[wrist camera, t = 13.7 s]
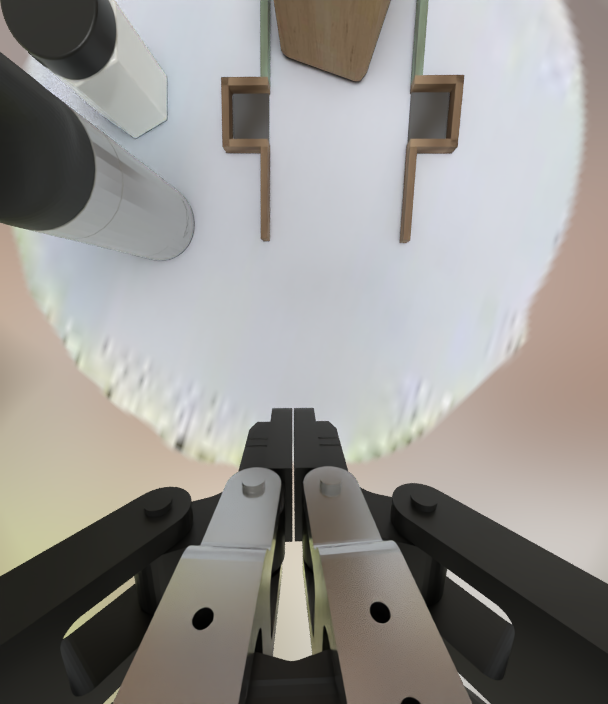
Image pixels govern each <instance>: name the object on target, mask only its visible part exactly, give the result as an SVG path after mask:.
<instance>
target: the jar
mask: <svg viewBox="0 0 608 704" xmlns="http://www.w3.org/2000/svg"><path fill="white" fill-rule="evenodd" d="M0 2H1V8H2V12H3V16H4V19H5V21H6V24H7V26H8V28H9V30H10V32H11V33H12V35H13V36H14V38H15V39H16V40H17V41H18V43H19V44H20V45H21V46H22V47H23V48H25V49H26V50H27V51H28V53H29V54H30V55H32V57H34V58H35V59H36V60H37V61H38V62H39V63H41V64H42V65H43V66H44V67H46V68H47V69H48V70H49V71H50V72H52V73H53V74H54V75H55V76H56V77H57V78H59V79H60V80H61V81H62V82H63V83H64V84H66V85H67V86H68V87H69V88H70V89H72V90H73V91H74V92H75V93H76V94H77V95H79V96H80V97H81V98H82V99H83V100H85V101H86V102H87V103H88V104H89V105H90V106H92V107H93V108H94V109H95V110H96V111H97V112H99V113H100V114H101V115H102V116H103V117H105V118H106V119H108V120H109V121H111V122H112V123H113V124H115V125H116V126H118V127H119V128H121V129H122V130H123V131H125V132H126V133H128V134H129V135H130V136H132V137H133V138H137V137H139V136H141V135H142V134H144V133H145V132H147V131H149V130H150V129H152V128H154V127H155V126H157V125H159V124H161V123H162V122H164V121H166V120H167V76H166V75H165V73H164V72H163V70H162V69H161V67H160V66H159V64H158V63H157V61H156V60H155V58H154V57H153V56H152V54H151V53H150V51H149V50H148V48H147V47H146V45H145V44H144V42H143V41H142V39H141V38H140V37H139V35H138V34H137V32H136V31H135V29H134V28H133V26H132V25H131V23H130V22H129V20H128V19H127V17H126V16H125V15H124V13H123V12H122V10H121V9H120V7H119V6H118V4H117V3H116V2H115V1H114V0H0Z"/></svg>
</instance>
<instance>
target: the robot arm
mask: <svg viewBox="0 0 608 704" xmlns="http://www.w3.org/2000/svg"><path fill="white" fill-rule="evenodd" d="M0 223H4V224H7V225H11V226H15V227H19V228H24V229H28V230H32V231H36V232H40V233H44V234H48V235H52V236H57V237H61V238H66V239H70V240H74V241H78V242H82V243H86V244H90V245H95V246H99V247H103V248H107V249H111V250H115V251H119V252H123V253H128V254H132V255H135V256H140V257H144V258H148V259H152V260H168V259H172V258H174V257H176V256H178V255H179V254H181V253H182V252H183V251H184V250H185V249H186V247H187V246H188V245H189V243H190V241H191V239H192V235H193V231H194V218H193V213H192V210H191V207H190V205H189V204H188V202H187V200H186V199H185V197H184V196H183V195H182V194H181V193H180V192H179V191H177V190H176V189H175V188H174V187H172V186H171V185H170V184H168V183H167V182H166V181H165V180H163V179H162V178H161V177H160V176H158V175H157V174H156V173H155V172H153V171H152V170H151V169H149V168H148V167H147V166H146V165H144V164H143V163H142V162H140V161H139V160H138V159H137V158H135V157H134V156H133V155H131V154H130V153H129V152H128V151H126V150H125V149H124V148H122V147H121V146H120V145H118V144H117V143H116V142H115V141H113V140H112V139H111V138H109V137H108V136H107V135H106V134H104V133H103V132H102V131H100V130H99V129H98V128H97V127H95V126H94V125H92V124H91V123H90V122H89V121H87V120H86V119H85V118H83V117H82V116H81V115H79V114H78V113H77V112H76V111H74V110H73V109H72V108H70V107H69V106H68V105H67V104H65V103H64V102H62V101H61V100H60V99H59V98H57V97H56V96H55V95H53V94H52V93H51V92H49V91H48V90H47V89H46V88H44V87H43V86H42V85H41V84H40V83H39V82H37V81H36V80H35V79H34V78H33V77H31V76H30V75H29V74H27V73H26V72H25V71H24V70H22V69H21V68H20V67H19V66H17V65H16V64H15V63H13V62H12V61H11V60H10V59H9V58H7V57H6V56H5V55H3V54H2V53H1V52H0ZM294 503H295V504H294V505H295V507H294V511H295V541H302V544H303V545H302V546H303V578H304V587H305V595H306V604H307V612H308V621H309V630H310V638H311V648H312V655H311V656H308V657H306V658H303V659H300V660H297V661H286V660H283V659H279V658H276V657H273V650H274V641H275V632H276V623H277V614H278V605H279V595H280V587H281V578H282V562H283V560H284V555H285V542H292V408H272V415H271V422H257V423H256V424H255V425H254V426H253V427H252V428H251V429H250V430H249V434H248V437H247V441H246V445H245V449H244V452H243V456H242V460H241V464H240V468H239V471H238V472H237V473H236V474H234V475H233V476H232V477H231V478H230V479H229V480H228V482H227V483H226V485H225V488H224V491H223V492H221V493H219V494H217V495H215V496H212V497H209V498H205V499H201V500H197V501H193V502H192V501H191V496H190V494H189V493H188V492H187V491H186V490H184V489H181V488H178V487H164V488H159V489H156V490H152V491H150V492H148V493H146V494H144V495H142V496H140V497H139V498H137V499H135V500H133V501H131V502H130V503H128V504H126V505H124V506H123V507H121V508H119V509H118V510H116V511H114V512H112V513H110V514H109V515H107V516H105V517H103V518H102V519H100V520H98V521H96V522H95V523H93V524H91V525H89V526H88V527H86V528H84V529H82V530H81V531H79V532H77V533H75V534H74V535H72V536H70V537H69V538H67V539H65V540H63V541H61V542H60V543H58V544H56V545H54V546H53V547H51V548H49V549H47V550H46V551H44V552H42V553H40V554H39V555H37V556H35V557H33V558H32V559H30V560H28V561H26V562H25V563H23V564H21V565H20V566H18V567H16V568H14V569H12V570H11V571H9V572H7V573H6V574H4V575H2V576H0V704H103V703H104V702H105V701H106V700H107V699H108V698H109V697H110V696H111V695H112V694H113V693H114V692H115V691H116V690H117V689H118V688H119V687H120V686H121V687H120V689H119V691H118V693H117V695H116V698H115V699H114V702H112V703H111V704H486V703H485V702H484V701H483V700H481V699H480V698H479V697H478V696H476V694H474V693H473V692H472V691H471V690H469V689H468V688H466V687H465V686H464V685H463V682H462V680H461V678H460V676H459V674H460V675H461V676H462V677H464V678H465V679H466V680H467V681H468V682H469V683H470V684H471V685H472V686H473V687H474V688H475V689H476V690H477V691H478V692H479V693H480V694H481V695H482V696H483V697H484V698H486V699H487V700H488V701H489V702H490V703H491V704H608V584H607V583H605V582H603V581H602V580H600V579H598V578H596V577H594V576H592V575H590V574H589V573H587V572H585V571H583V570H582V569H580V568H578V567H576V566H574V565H573V564H571V563H569V562H567V561H565V560H563V559H562V558H560V557H558V556H556V555H554V554H553V553H551V552H549V551H547V550H545V549H543V548H542V547H540V546H538V545H536V544H535V543H533V542H531V541H529V540H527V539H525V538H523V537H522V536H520V535H518V534H516V533H515V532H513V531H511V530H509V529H507V528H506V527H504V526H502V525H500V524H498V523H496V522H495V521H493V520H491V519H489V518H487V517H486V516H484V515H482V514H480V513H478V512H477V511H475V510H473V509H471V508H469V507H468V506H466V505H464V504H462V503H460V502H459V501H457V500H455V499H453V498H451V497H449V496H448V495H446V494H444V493H442V492H440V491H438V490H436V489H435V488H432V487H430V486H427V485H423V484H417V483H410V484H404V485H401V486H399V487H397V488H396V489H395V491H394V492H393V496H392V497H388V496H384V495H379V494H375V493H371V492H369V491H366V490H364V489H362V488H361V487H359V484H358V482H357V480H356V478H355V477H354V476H353V475H352V474H351V473H350V472H348V469H347V465H346V462H345V458H344V454H343V451H342V447H341V444H340V440H339V436H338V433H337V429H336V428H335V427H334V426H333V425H332V424H331V423H330V422H329V421H316V420H315V413H314V408H294ZM447 569H449V570H450V571H451V572H453V573H454V574H455V575H457V576H458V577H459V578H461V579H462V580H464V581H465V582H466V583H468V584H469V585H470V586H472V587H473V588H475V589H476V590H477V591H479V592H480V593H481V594H483V595H484V596H485V597H487V598H488V599H490V600H491V601H492V602H494V603H495V604H497V605H498V606H499V607H500V608H501V609H502V610H503V611H504V612H505V613H506V615H507V616H508V617H509V619H510V621H511V622H512V624H510V623H508V622H507V621H505V620H504V619H503V618H501V617H500V616H499V615H497V614H496V613H495V612H493V611H492V610H491V609H489V608H488V607H486V606H485V605H484V604H483V603H481V602H480V601H479V600H477V599H476V598H475V597H473V596H472V595H470V594H469V593H468V592H467V591H465V590H464V589H463V588H461V587H460V586H459V585H457V584H456V583H454V582H453V581H452V580H451V579H449V578H448V577H447V576H446V572H447ZM133 576H134V578H135V584H134V585H133V586H131V587H130V588H129V589H128V590H126V591H125V592H124V593H123V594H121V595H120V596H119V597H117V598H116V599H115V600H114V601H112V602H111V603H110V604H108V605H107V606H106V607H105V608H103V609H102V610H101V611H100V612H98V613H97V614H96V615H94V616H93V617H92V618H91V619H90V620H88V621H87V622H85V623H84V624H83V625H82V626H80V627H79V628H78V629H76V630H75V631H74V632H73V633H71V634H70V635H69V636H67V637H66V638H64V639H63V637H64V635H65V634H66V632H67V631H68V629H69V628H70V627H71V626H72V624H73V623H74V622H75V621H76V620H77V619H78V618H79V617H80V616H82V615H83V614H85V613H86V612H87V611H89V610H90V609H91V608H92V607H94V606H95V605H96V604H98V603H99V602H100V601H102V600H103V599H104V598H106V597H107V596H108V595H110V594H111V593H112V592H113V591H115V590H116V589H117V588H119V587H120V586H121V585H123V584H124V583H125V582H127V581H128V580H129V579H131V578H132V577H133ZM458 673H459V674H458Z"/></svg>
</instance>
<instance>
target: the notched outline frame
mask: <svg viewBox="0 0 608 704" xmlns="http://www.w3.org/2000/svg"><path fill="white" fill-rule="evenodd" d="M427 12H428V0H417V5H416V19H415V33H414V47H413V61H412V76H411V90H410V94H411V102H410V116H409V131H408V144H407V146H406V161H405V175H404V189H403V203H402V217H401V231H400V243H407V242H409V241H410V236H411V223H412V209H413V196H414V183H415V170H416V157H417V153H452V152H453V151H454V150H455V149H456V148H457V147H458V136H459V126H460V115H461V105H462V95H463V84H464V75H423V65H424V51H425V38H426V25H427ZM260 45H261V77H221V94H222V142H223V148H224V150H225V151H226V153H261V239H262V240H263V241H270V145H269V95H270V0H260ZM449 93H450V96H449ZM232 95H233V100H232ZM448 105H449V108H448ZM447 116H448V119H447ZM446 127H447V130H446ZM445 138H446V139H445Z"/></svg>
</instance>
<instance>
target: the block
mask: <svg viewBox="0 0 608 704" xmlns="http://www.w3.org/2000/svg"><path fill="white" fill-rule="evenodd" d="M389 4H390V0H274V6H275V12H276V19H277V26H278V32H279V39H280V45H281V51H282V52H283V54H284V55H286V56H287V57H288V58H291V59H294V60H297V61H299V62H302V63H305V64H308V65H311V66H313V67H316V68H319V69H322V70H325V71H327V72H330V73H333V74H336V75H339V76H341V77H344V78H347V79H350V80H353V81H361V79H362V78H363V77H364V75H365V74H366V73H367V70H368V67H369V64H370V61H371V58H372V55H373V52H374V49H375V46H376V43H377V40H378V37H379V34H380V31H381V28H382V25H383V22H384V19H385V16H386V13H387V10H388V7H389Z"/></svg>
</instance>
